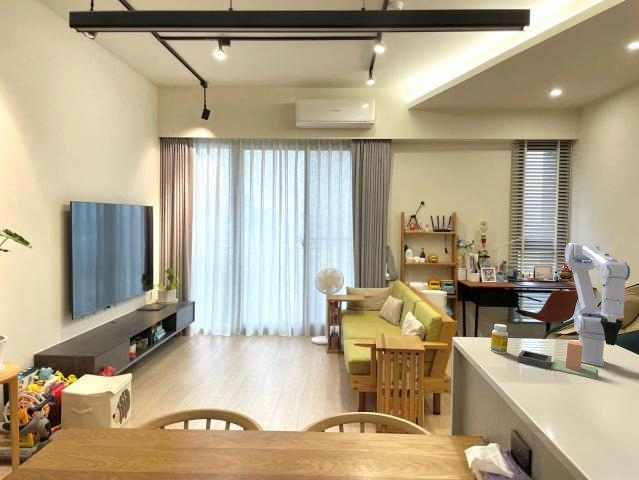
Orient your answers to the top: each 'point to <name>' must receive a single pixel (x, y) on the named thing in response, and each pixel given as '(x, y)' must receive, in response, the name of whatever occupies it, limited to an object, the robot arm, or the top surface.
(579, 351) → the peg
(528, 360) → the metal collar
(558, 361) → the rubber mat
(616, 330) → the robot arm
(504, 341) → the supplement bottle
